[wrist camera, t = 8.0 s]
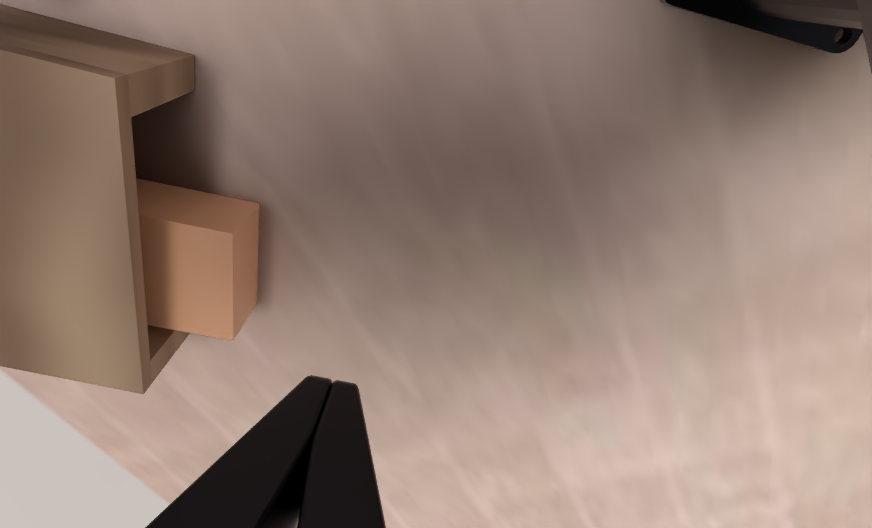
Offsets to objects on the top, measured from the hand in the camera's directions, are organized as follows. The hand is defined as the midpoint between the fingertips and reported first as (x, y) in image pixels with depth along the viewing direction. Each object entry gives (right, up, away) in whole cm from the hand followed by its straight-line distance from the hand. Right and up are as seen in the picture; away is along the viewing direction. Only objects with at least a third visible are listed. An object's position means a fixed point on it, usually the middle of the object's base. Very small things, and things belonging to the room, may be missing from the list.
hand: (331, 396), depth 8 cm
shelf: (-12, +5, +11) cm, 17 cm away
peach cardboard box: (-10, +4, +12) cm, 16 cm away
